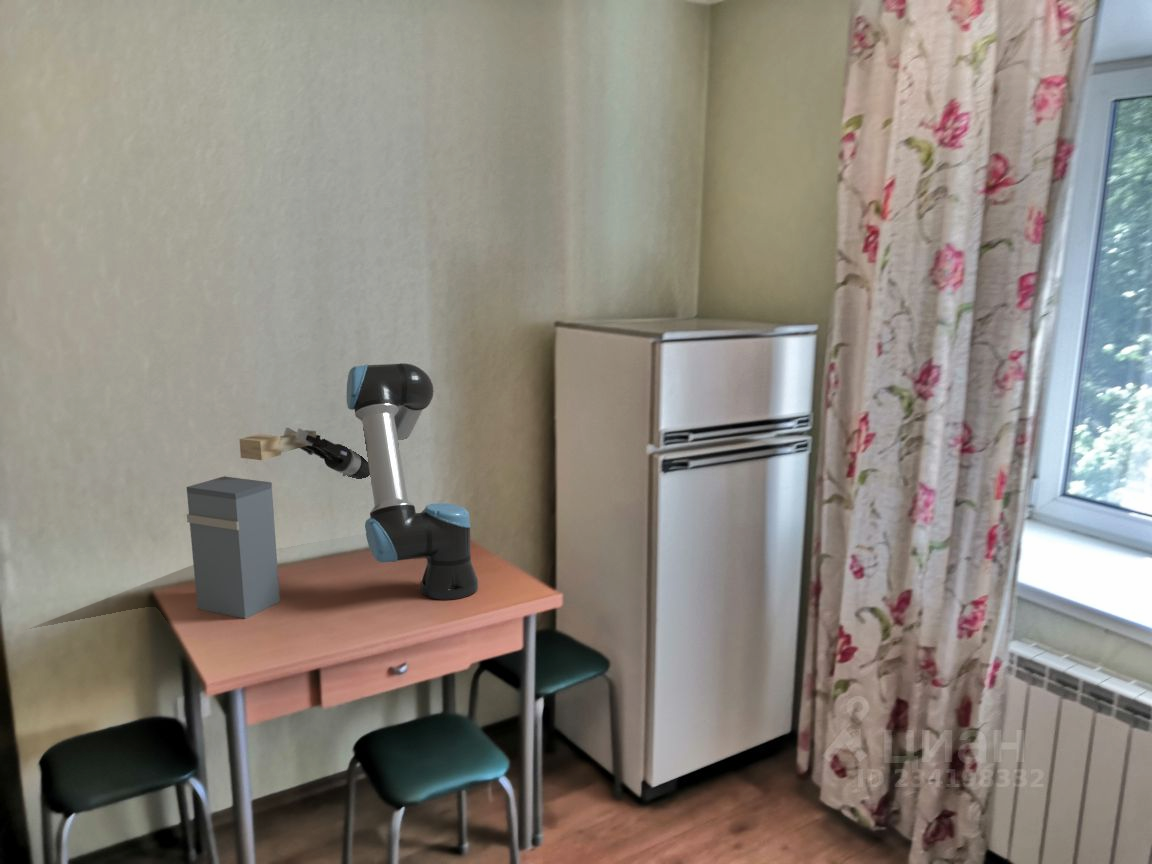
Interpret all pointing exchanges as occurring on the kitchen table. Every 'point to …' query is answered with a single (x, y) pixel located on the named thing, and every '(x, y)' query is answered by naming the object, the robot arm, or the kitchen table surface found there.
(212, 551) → the lidded box
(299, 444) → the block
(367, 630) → the kitchen table surface
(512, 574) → the kitchen table surface
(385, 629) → the kitchen table surface
